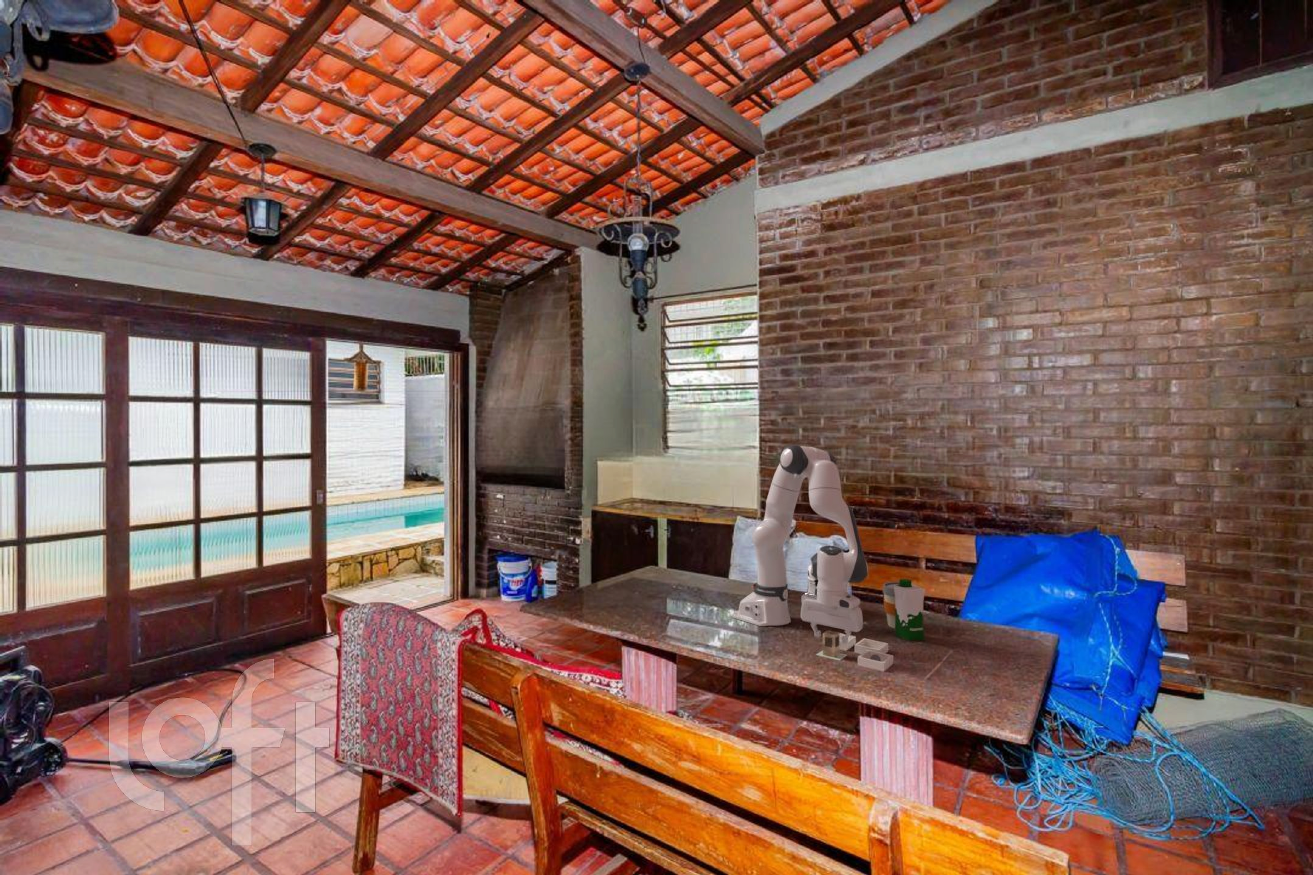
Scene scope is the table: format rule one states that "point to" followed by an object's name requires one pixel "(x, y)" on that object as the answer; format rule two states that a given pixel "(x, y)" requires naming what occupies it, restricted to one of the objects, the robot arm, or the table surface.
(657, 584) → the table surface
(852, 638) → the white open square tray
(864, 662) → the white square open box
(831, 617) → the robot arm
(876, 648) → the white square cubby
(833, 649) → the tan tall block
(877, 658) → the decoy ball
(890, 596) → the reusable coffee cup
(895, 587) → the milk carton
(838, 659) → the pad
